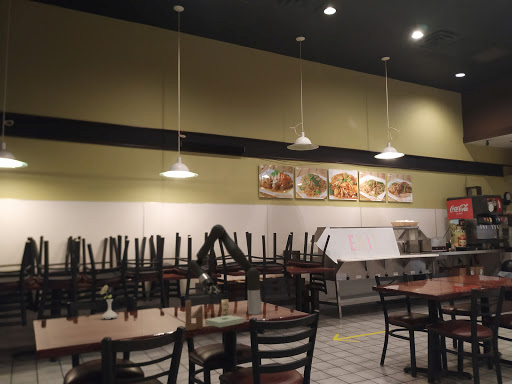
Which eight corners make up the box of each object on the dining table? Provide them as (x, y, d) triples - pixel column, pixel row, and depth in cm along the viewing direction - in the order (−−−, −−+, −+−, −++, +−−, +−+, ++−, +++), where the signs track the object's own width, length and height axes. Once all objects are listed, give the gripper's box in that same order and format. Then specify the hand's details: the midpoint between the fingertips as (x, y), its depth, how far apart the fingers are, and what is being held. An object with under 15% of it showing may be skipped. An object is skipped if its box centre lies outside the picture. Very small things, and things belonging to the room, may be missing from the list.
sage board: (229, 319, 294) (229, 315, 294) (244, 322, 282) (243, 317, 282) (205, 324, 281) (205, 319, 281) (219, 327, 269) (219, 322, 269)
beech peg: (226, 317, 301) (225, 299, 302) (230, 318, 297) (229, 299, 299) (220, 318, 298) (219, 299, 299) (224, 319, 294) (224, 300, 295)
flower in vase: (111, 316, 321) (111, 283, 323) (120, 318, 314) (120, 283, 317) (96, 319, 310) (96, 285, 313) (105, 321, 304) (105, 285, 306)
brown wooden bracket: (203, 329, 266) (202, 299, 268) (186, 331, 262) (185, 301, 264) (201, 327, 270) (200, 299, 271) (184, 329, 265) (184, 300, 267)
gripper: (201, 278, 305) (212, 295, 297) (215, 276, 316) (226, 293, 308) (196, 285, 308) (207, 302, 300) (210, 283, 319) (221, 299, 311)
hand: (217, 297), depth 304 cm, fingers open, 8 cm apart
